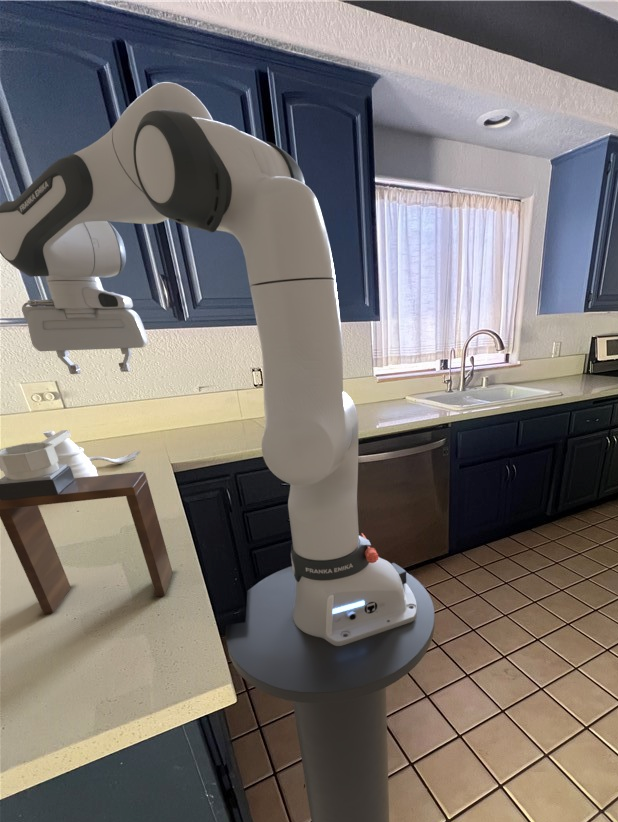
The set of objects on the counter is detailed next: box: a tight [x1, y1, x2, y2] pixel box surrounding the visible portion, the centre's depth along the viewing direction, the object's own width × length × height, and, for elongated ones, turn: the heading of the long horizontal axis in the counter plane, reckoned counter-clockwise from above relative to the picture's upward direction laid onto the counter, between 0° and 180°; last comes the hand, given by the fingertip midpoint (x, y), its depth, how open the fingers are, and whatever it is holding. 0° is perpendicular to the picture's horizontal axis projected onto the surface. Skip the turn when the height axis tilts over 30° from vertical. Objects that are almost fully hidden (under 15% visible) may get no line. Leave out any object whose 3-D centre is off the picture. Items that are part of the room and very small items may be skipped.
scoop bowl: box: [0, 429, 72, 480], centre depth 74 cm, size 7×19×4 cm, turn 15°
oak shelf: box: [0, 471, 174, 615], centre depth 77 cm, size 20×8×22 cm, turn 104°
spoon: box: [87, 450, 141, 465], centre depth 149 cm, size 9×32×4 cm, turn 107°
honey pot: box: [42, 430, 99, 478], centre depth 128 cm, size 13×13×18 cm
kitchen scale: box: [0, 464, 75, 500], centre depth 70 cm, size 8×7×3 cm
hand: (101, 372), depth 89 cm, fingers open, 8 cm apart
